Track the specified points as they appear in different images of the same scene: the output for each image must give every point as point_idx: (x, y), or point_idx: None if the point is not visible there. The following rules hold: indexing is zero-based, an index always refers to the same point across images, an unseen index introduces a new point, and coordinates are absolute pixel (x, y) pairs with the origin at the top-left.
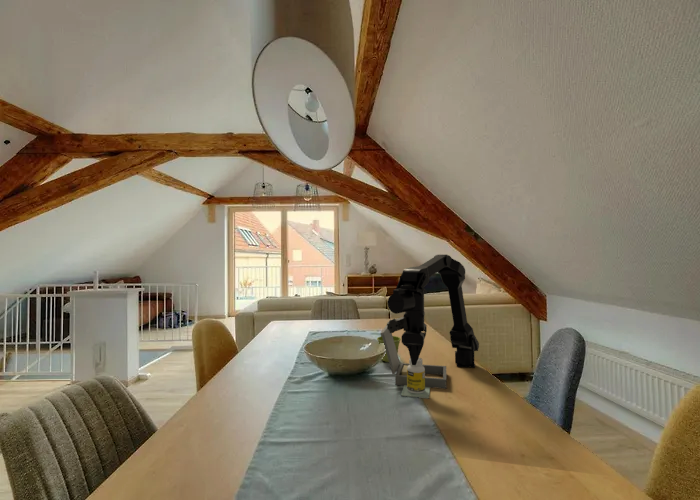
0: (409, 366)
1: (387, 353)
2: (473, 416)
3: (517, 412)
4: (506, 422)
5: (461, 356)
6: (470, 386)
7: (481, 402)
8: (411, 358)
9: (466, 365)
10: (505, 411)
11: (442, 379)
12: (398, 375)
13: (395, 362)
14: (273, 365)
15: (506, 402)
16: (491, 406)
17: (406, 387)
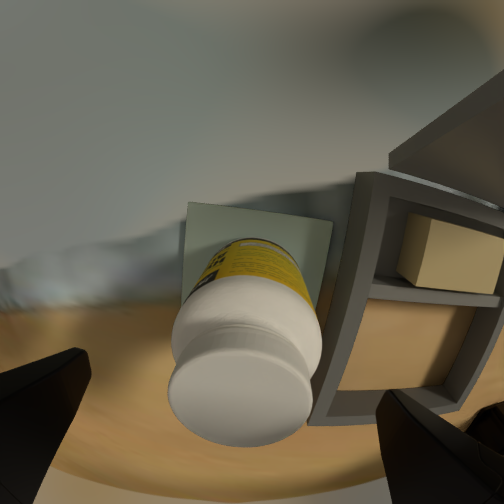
0: (224, 309)
1: (484, 91)
2: (93, 410)
3: (154, 480)
4: (96, 448)
5: (491, 436)
6: (322, 452)
7: (190, 454)
8: (22, 373)
9: (471, 431)
10: (150, 469)
11: (311, 415)
12: (383, 193)
13: (497, 189)
14: None
15: (205, 485)
16: (170, 461)
17: (298, 232)
